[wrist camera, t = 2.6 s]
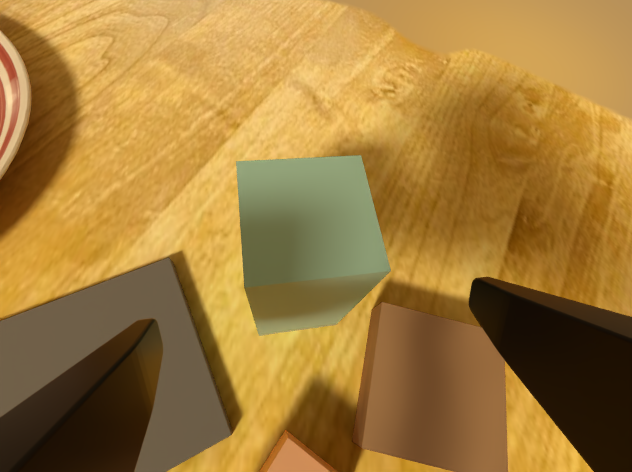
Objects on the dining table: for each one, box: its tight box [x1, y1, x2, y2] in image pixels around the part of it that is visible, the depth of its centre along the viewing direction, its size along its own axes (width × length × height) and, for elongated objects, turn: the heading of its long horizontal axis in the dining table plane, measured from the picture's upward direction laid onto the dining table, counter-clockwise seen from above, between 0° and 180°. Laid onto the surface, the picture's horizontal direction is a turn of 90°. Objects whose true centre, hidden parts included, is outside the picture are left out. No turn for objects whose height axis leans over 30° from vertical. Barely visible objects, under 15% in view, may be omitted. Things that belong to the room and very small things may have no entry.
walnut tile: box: [352, 302, 508, 472], centre depth 18 cm, size 7×7×2 cm
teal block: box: [236, 155, 391, 336], centre depth 15 cm, size 4×4×10 cm
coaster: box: [0, 258, 233, 472], centre depth 16 cm, size 10×10×1 cm
